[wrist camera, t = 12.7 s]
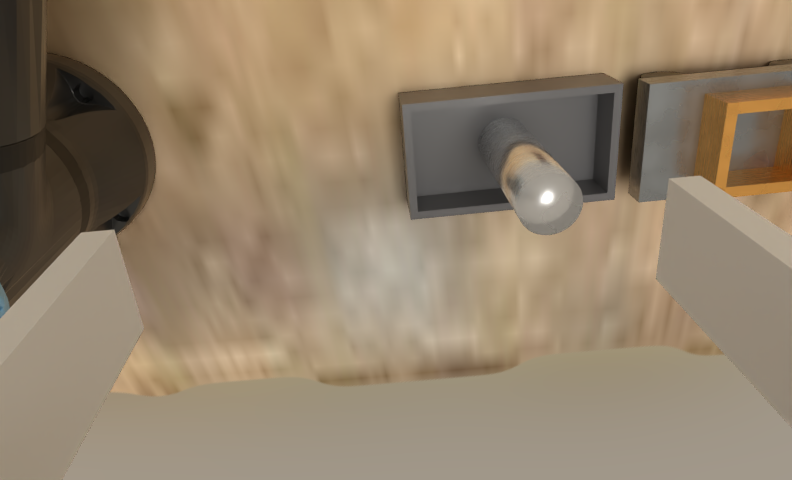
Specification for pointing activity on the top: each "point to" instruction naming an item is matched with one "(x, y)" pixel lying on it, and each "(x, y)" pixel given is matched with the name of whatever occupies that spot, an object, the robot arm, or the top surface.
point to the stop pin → (530, 177)
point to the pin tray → (536, 110)
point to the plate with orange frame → (714, 130)
